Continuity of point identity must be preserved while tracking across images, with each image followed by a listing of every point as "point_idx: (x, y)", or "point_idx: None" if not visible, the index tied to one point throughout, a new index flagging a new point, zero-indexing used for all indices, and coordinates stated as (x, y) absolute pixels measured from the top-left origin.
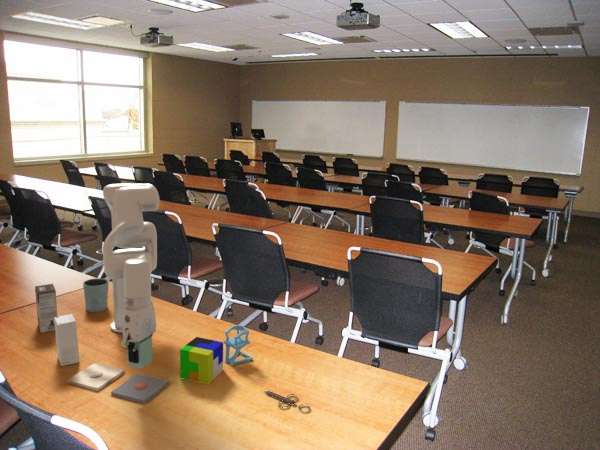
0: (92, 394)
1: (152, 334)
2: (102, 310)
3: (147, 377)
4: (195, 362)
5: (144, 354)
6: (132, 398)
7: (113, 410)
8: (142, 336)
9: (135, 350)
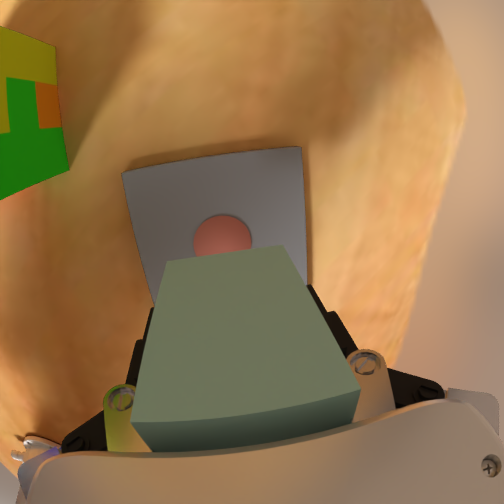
0: None
1: (75, 432)
2: None
3: (156, 271)
4: (6, 93)
5: (264, 299)
6: (304, 207)
7: (371, 217)
8: (379, 468)
9: (352, 359)
